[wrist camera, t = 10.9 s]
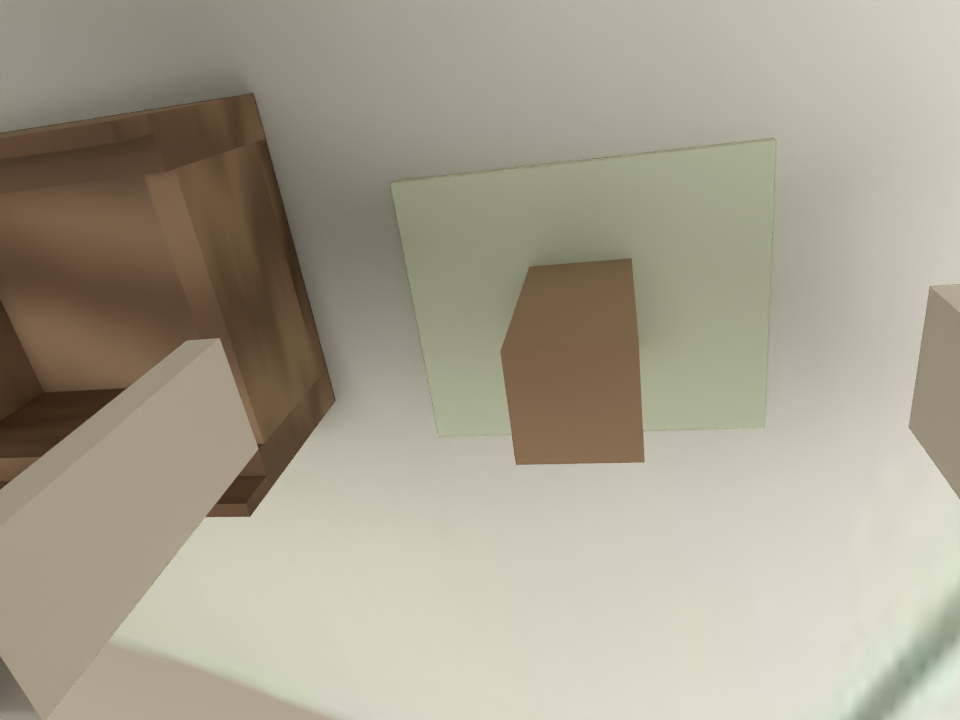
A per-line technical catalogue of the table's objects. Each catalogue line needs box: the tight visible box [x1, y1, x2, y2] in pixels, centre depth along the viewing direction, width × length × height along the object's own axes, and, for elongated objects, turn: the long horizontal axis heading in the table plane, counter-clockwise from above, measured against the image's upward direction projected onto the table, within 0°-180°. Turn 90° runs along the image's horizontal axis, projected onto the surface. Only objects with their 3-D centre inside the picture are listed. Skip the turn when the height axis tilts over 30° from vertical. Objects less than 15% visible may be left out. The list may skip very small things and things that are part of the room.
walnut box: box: [0, 93, 335, 517], centre depth 24 cm, size 12×14×8 cm
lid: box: [390, 138, 776, 465], centre depth 21 cm, size 10×12×8 cm
